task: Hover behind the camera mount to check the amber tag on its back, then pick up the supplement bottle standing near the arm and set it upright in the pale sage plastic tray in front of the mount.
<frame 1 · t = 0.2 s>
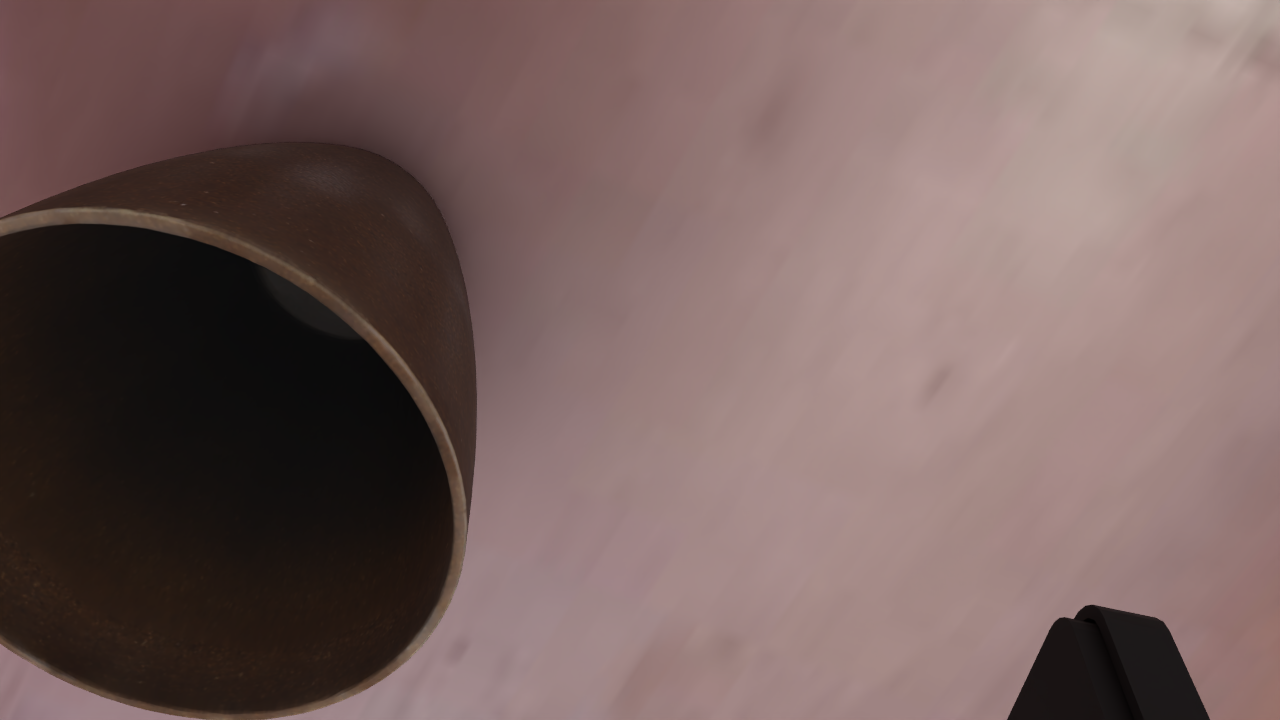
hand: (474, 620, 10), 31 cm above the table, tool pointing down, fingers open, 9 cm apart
plant pot: (355, 238, 43), on the table
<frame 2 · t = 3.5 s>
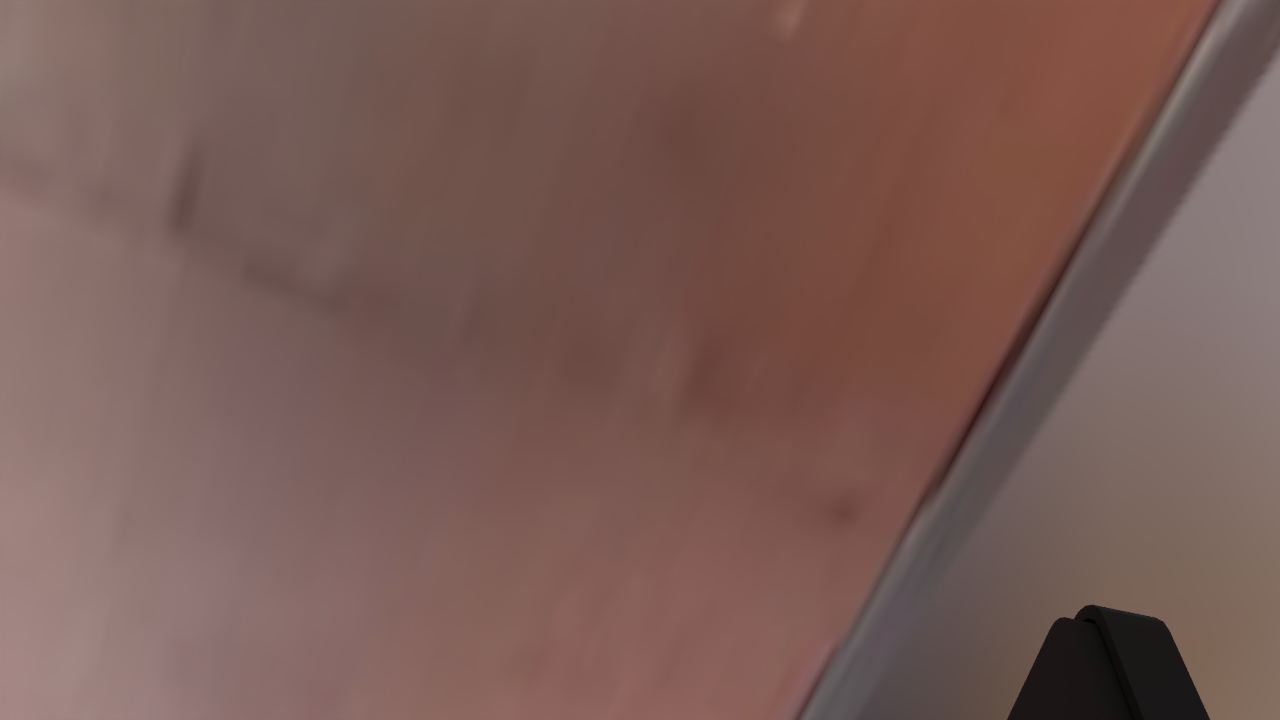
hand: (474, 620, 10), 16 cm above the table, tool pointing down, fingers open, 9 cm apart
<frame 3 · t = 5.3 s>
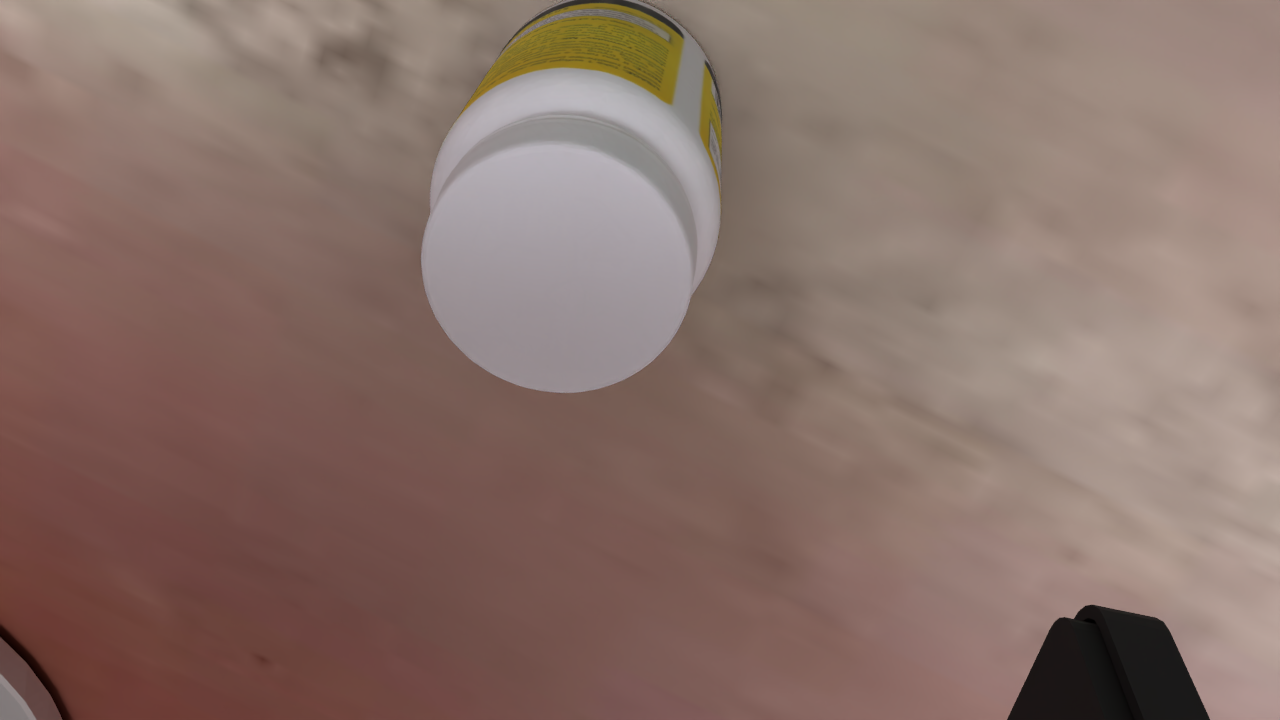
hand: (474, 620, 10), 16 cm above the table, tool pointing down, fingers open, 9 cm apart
supplement bottle: (608, 107, 25), on the table
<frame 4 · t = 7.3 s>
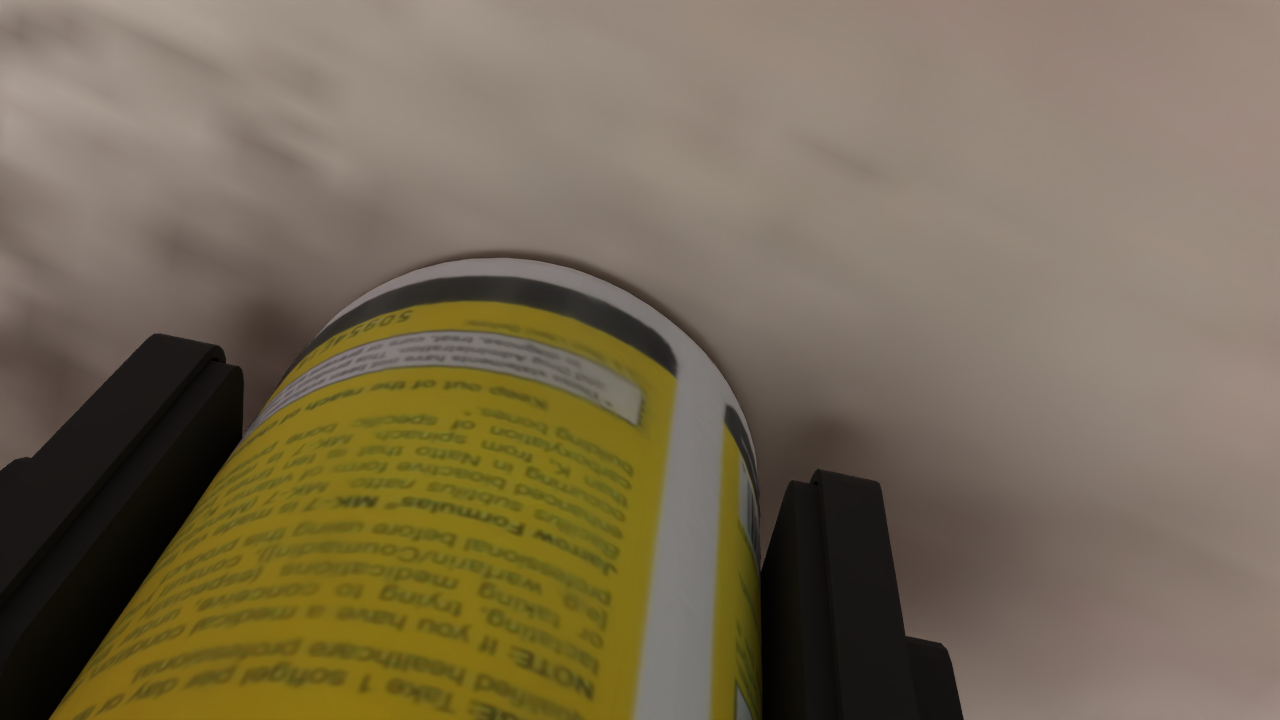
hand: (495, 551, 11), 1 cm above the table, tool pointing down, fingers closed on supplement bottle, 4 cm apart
supplement bottle: (526, 453, 12), on the table, touching gripper
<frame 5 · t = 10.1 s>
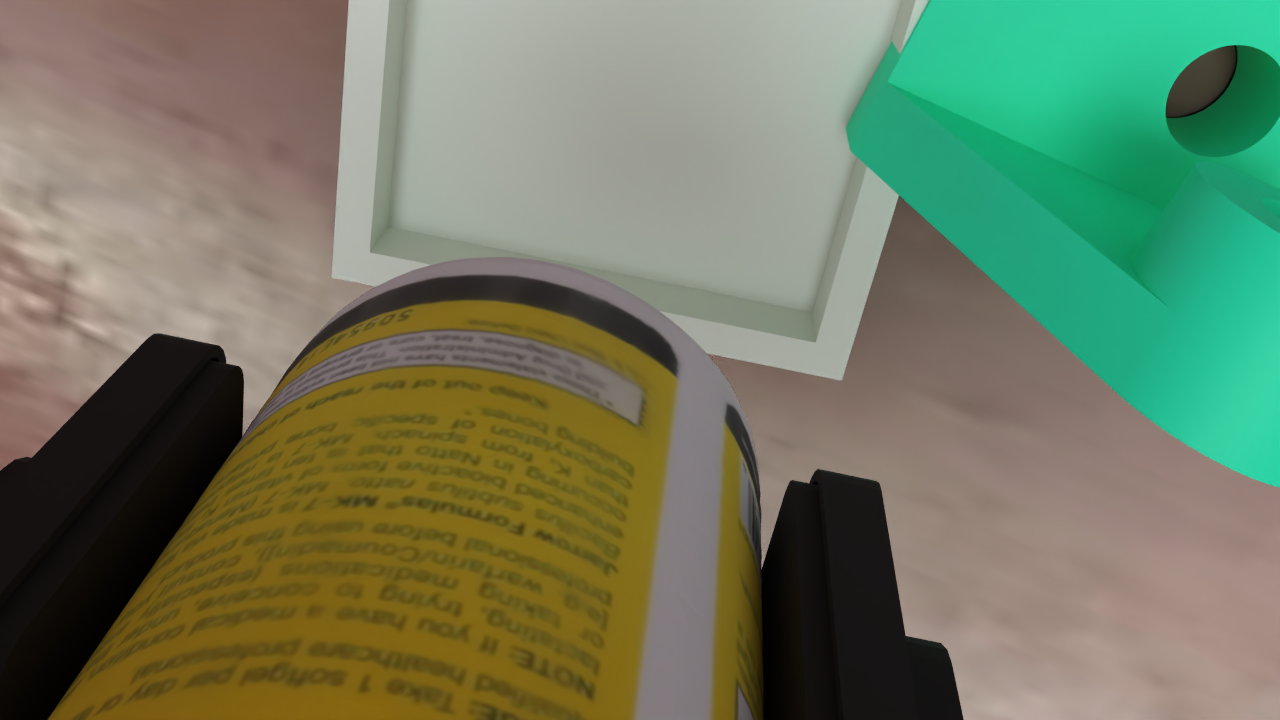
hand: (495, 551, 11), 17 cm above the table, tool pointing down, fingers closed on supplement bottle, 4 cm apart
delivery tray: (643, 46, 26), on the table
supplement bottle: (526, 453, 12), point 16 cm above the table, touching gripper
camera mount: (1179, 65, 25), on the table, touching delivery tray, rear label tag
when the fingers open (4 cm above the table, at t = 12.9 s): supplement bottle drops 2 cm, resting on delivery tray.
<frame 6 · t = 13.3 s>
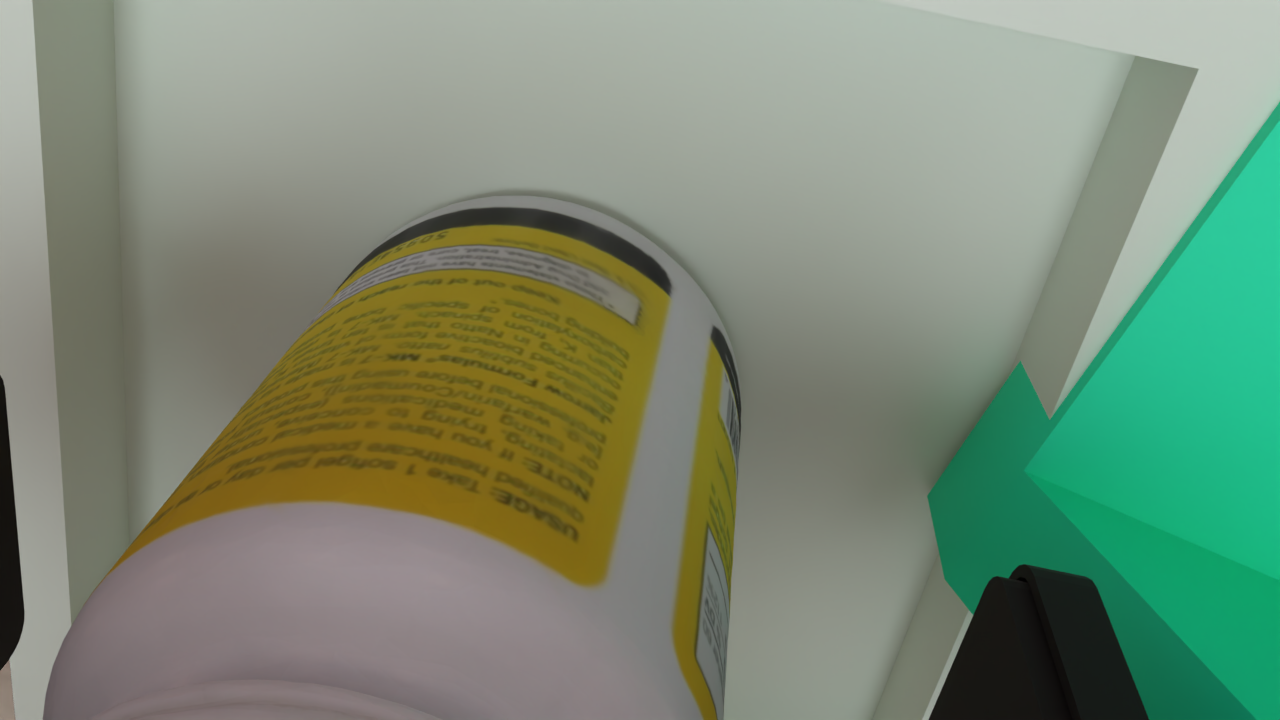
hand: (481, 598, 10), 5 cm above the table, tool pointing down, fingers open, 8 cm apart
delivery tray: (563, 329, 14), on the table
supplement bottle: (540, 376, 14), point 1 cm above the table, touching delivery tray
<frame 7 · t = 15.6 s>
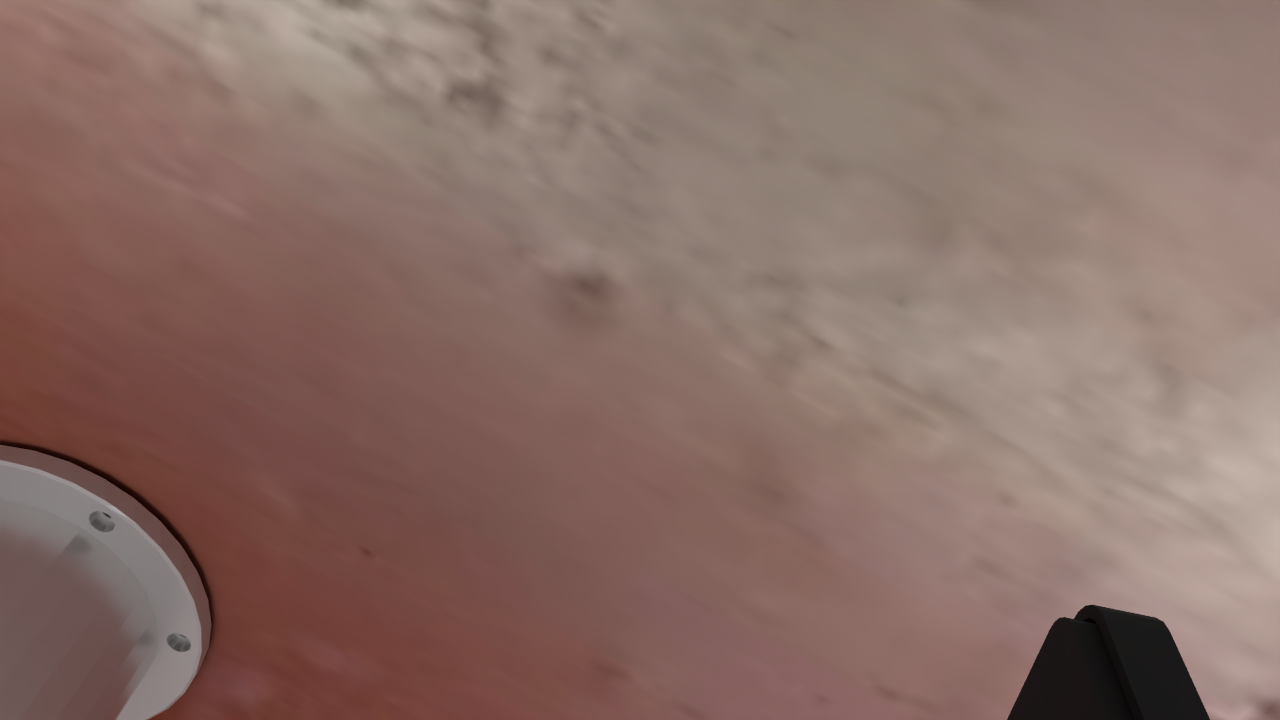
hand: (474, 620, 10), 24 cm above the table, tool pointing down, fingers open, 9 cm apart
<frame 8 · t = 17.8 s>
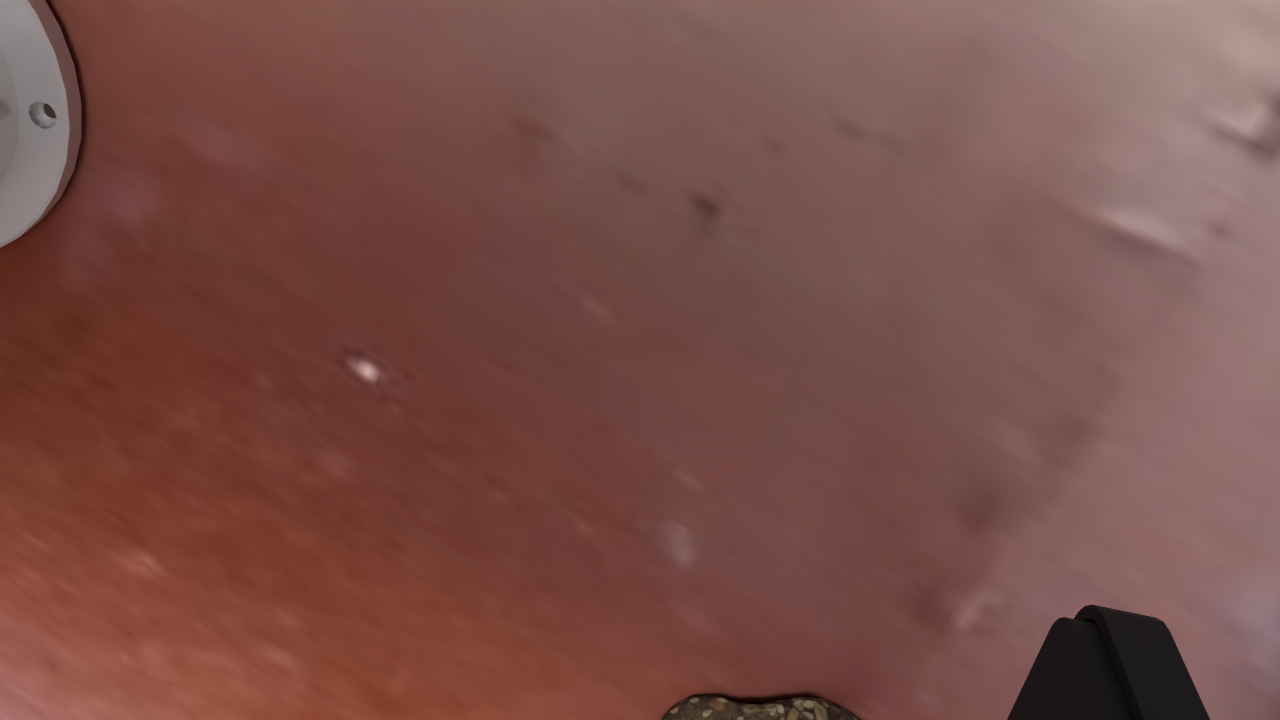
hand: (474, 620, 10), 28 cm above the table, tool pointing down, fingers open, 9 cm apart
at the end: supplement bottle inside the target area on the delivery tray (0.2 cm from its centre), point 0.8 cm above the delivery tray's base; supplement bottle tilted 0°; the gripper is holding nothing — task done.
